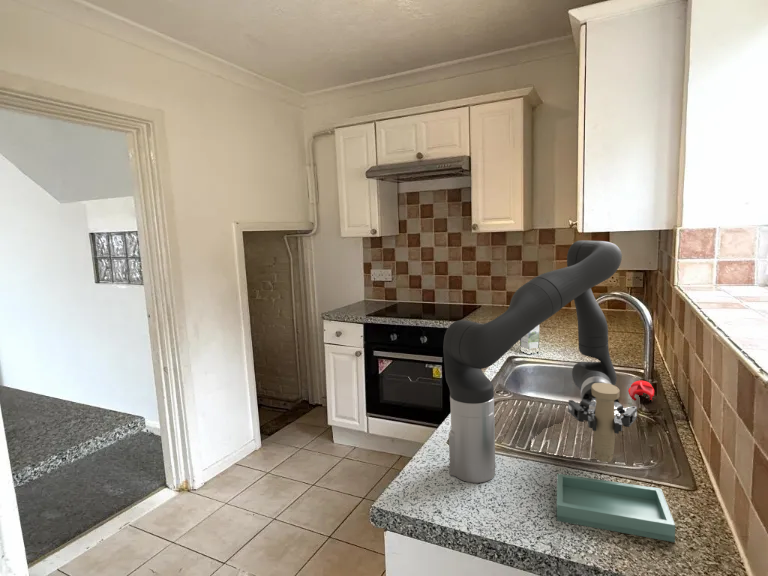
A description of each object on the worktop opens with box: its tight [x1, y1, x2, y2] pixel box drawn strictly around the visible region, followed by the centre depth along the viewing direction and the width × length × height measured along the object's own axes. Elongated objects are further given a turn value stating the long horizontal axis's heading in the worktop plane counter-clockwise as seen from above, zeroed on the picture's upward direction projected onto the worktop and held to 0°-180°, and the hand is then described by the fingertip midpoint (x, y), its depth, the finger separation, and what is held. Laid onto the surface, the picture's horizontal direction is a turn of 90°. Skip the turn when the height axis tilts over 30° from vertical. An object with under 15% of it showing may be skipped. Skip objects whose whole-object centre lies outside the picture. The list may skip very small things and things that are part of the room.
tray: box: [556, 473, 676, 543], centre depth 80 cm, size 18×11×3 cm, turn 68°
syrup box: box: [519, 324, 540, 349], centre depth 187 cm, size 6×6×14 cm
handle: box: [591, 383, 621, 464], centre depth 88 cm, size 5×6×15 cm
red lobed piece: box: [628, 380, 655, 402], centre depth 131 cm, size 8×6×6 cm
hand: (605, 427), depth 86 cm, fingers closed on handle, 3 cm apart
